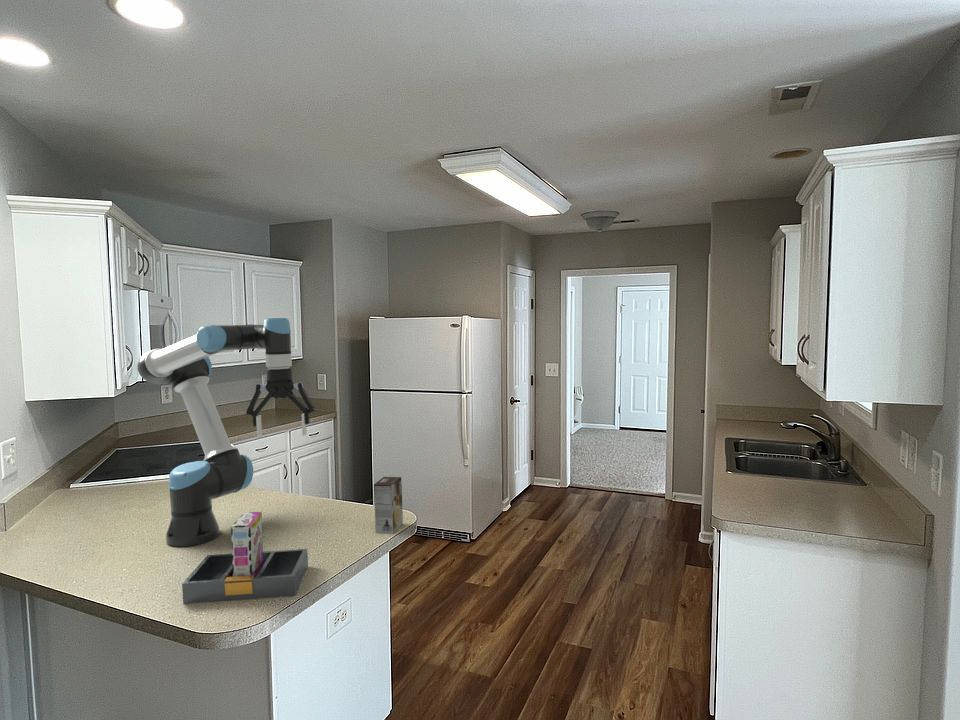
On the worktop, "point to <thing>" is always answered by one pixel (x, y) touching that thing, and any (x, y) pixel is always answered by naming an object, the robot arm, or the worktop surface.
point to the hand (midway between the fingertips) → (282, 435)
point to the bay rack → (246, 578)
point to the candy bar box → (247, 544)
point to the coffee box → (388, 504)
